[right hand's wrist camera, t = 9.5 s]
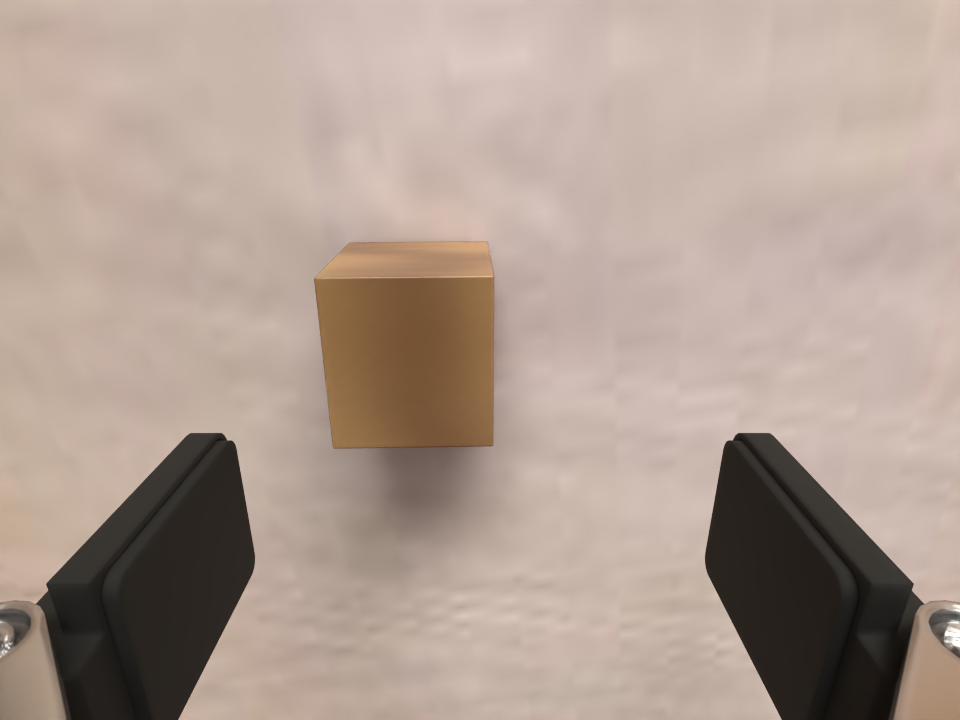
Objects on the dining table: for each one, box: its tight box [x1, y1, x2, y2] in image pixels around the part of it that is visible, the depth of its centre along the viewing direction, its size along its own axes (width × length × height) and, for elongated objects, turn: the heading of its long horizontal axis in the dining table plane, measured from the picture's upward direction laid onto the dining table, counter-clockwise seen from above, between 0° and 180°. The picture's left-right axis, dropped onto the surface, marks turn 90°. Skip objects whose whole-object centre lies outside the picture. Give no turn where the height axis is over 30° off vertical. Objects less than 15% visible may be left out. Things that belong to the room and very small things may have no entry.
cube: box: [314, 242, 494, 448], centre depth 16 cm, size 4×4×4 cm
